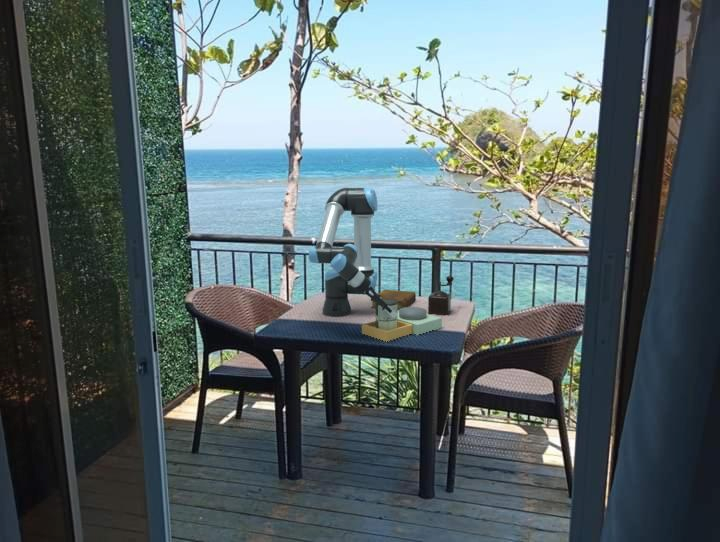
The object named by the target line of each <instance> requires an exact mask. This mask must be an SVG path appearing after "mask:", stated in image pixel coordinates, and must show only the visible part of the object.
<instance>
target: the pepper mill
mask: <svg viewBox="0 0 720 542" xmlns="http://www.w3.org/2000/svg"><path fill="white" fill-rule="evenodd" d="M445 280H446V281H447V283H445V284H442V281H438V285H437V286H438V291H436V292H431V294H430V295H429V296H428V298H427V299H428V304H427V305H428V307H427V308H428V309H427V314H429V315H431V314H436V315H435V316H445V315H448V314H449V313H451V312H452V309H451V307H452V306H451V305H452V304H451V303H452V294H451V293H449V292H448V293H447V292H446V291H444V290H442V289H441V287H447V286H448V287H450V286H452V285H453V281H454V280H455V279H454V277H453V276H452V275H451V276H450V275H448V276H446V278H445ZM449 315H450V314H449ZM449 315H448V316H449Z"/></svg>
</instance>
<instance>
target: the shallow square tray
mask: <svg viewBox="0 0 720 542" xmlns="http://www.w3.org/2000/svg"><path fill="white" fill-rule="evenodd" d="M361 334H362V335H364V334H365V336H367V335H368V337H370V336H371V337H370V338H373V337H374V339H376V338H377V340H379V339H380V340H379V341H382V340H383V341H382V342H385V341H386V343H388V342H391V341H390V340H392V341H394V340H393V339H395V340H397V339H396V338H398V339H400V338H399V337H402V336H405V337H407V336H406V335H408V336H410V335H409V334H412V325H411V324H408V323H404V322H401V321H398V328H396V329H392V330H389V331H385V330H382V329H379V328H376V320H372V321H369V322H366V323H362V324H361ZM412 335H413V334H412ZM402 338H403V337H402ZM387 341H388V342H387Z"/></svg>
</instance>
